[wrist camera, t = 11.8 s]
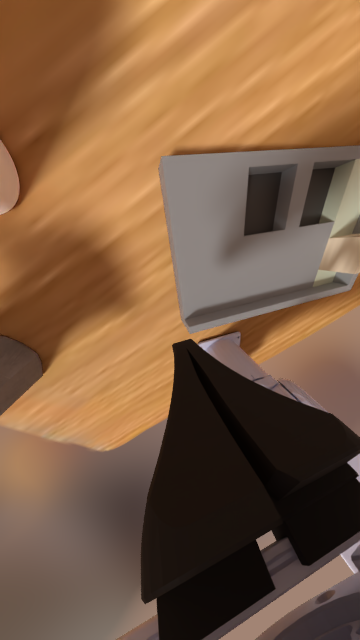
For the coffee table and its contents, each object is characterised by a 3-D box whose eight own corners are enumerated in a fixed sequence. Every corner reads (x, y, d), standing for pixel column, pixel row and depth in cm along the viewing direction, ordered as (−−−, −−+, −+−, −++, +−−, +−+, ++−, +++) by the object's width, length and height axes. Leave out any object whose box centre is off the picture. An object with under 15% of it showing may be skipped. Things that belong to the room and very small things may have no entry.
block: (339, 264, 21) (378, 268, 18) (318, 269, 20) (354, 274, 17) (351, 234, 19) (398, 231, 16) (328, 238, 18) (372, 236, 15)
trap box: (321, 284, 25) (350, 290, 21) (181, 319, 21) (189, 333, 17) (368, 154, 17) (427, 130, 13) (158, 168, 13) (165, 139, 9)
